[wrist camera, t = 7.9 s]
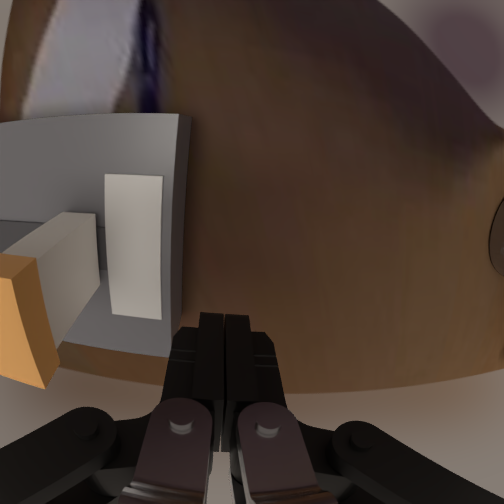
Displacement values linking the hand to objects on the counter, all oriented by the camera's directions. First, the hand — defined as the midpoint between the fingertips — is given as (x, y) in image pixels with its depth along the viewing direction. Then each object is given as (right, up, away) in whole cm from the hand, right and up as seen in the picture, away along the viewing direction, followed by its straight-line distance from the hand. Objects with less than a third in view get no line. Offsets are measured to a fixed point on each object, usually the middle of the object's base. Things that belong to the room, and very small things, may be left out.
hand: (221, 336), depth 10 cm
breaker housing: (-14, +5, +10) cm, 18 cm away
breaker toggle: (-8, +3, +5) cm, 10 cm away
